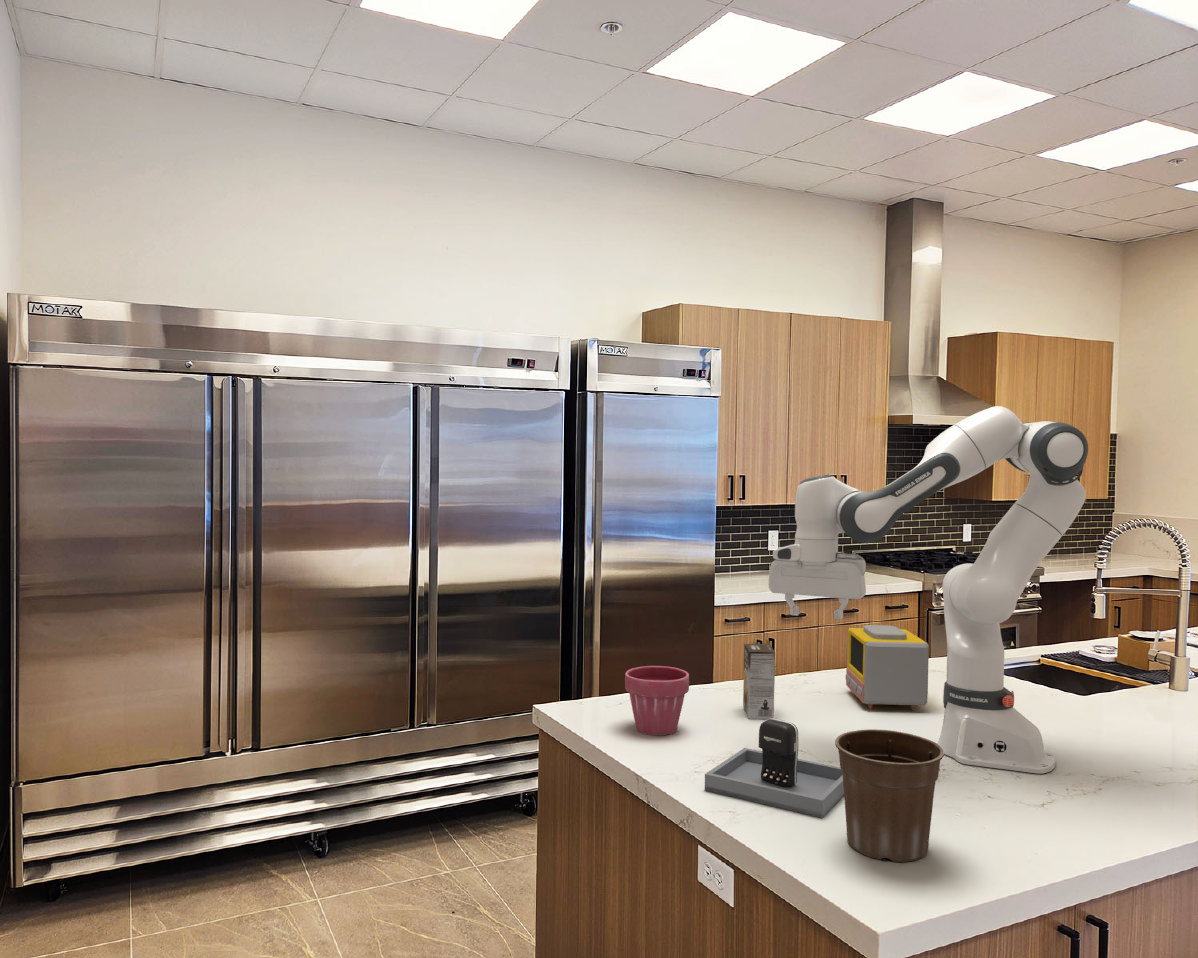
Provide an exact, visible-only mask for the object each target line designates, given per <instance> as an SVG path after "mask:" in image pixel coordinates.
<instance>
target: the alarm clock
mask: <svg viewBox="0 0 1198 958" xmlns="http://www.w3.org/2000/svg"><path fill="white" fill-rule="evenodd" d="M929 646H930V645H929V644H928V642H927V641H924V640H923V639H922V638H920V637H918V636H917V635H916V634H914V633H912V632H911V631H910V630H907V629H906V628H905V629H904V628H898V627H897V626H895V625H885V624H884V625H883V624H882V625H881V624H865V625H864V626H863V627H849V628H848V629H847V645H846V647H847V648H846V669H845V670H846V672H845V673H846V674H845V686H847V688H848V689H849V690H850V691H851V692H852V693H853V694H854V695H855V696H856V697H857V698H858V699H859V701H860V702H861V703H862V704H866V705H867V707H868V709H870V710H871V709H873V706H874V705H892V706H893V705H894V706H896V705H897V706H910V709H911V710H912V711H916V707H917V706H926V705H927V704H928V699H929V698H928V696H929V693H928V692H929V690H928V689H929V656H930V655H929V654H930V653H929V650H930V647H929Z"/></svg>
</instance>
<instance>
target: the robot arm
mask: <svg viewBox="0 0 1198 958" xmlns="http://www.w3.org/2000/svg"><path fill="white" fill-rule="evenodd" d="M1088 454H1089V443H1088V440H1087V437H1086V435H1084V434H1083V431H1081V430H1080V429H1079V428H1077V427H1075V426H1073V425H1071V424H1069V423H1067V422H1059V421H1057V422H1056V421H1048V420H1044V421H1035V422H1022V421H1021V420H1020V419H1019V417H1018V416H1017V415H1016V413H1014V411H1012V410H1010V409H1009V408H1008V407H1005V406H1001V405H996V406H991V407H989V408H985V409H983V410H980V411H978V412H976V413H974V414H971V415H969V416H968V417H965V418H963V419H962V420H960V421H958V422H956V423H955V424H953V425H952V426H950V427H948V428H946V429H945V430H944V431H942V432H941V433H939V434H938V436H936V437H935V438H933V440H931V441H930V442H929V443H928V444H927V445H926V447H925V450H924V455H923V457H922V459H921V460H920V462H919V463H918V464H917V465H916V466H915V467H913V468H912V469H911V470H909V471H907V472H906V473H905V474H903V475H901V476H900V477H898V478H897V479H895V480H893V481H892V482H890V483H889V484H887V485H886V486H884V487H882V488H880V489H876V490H871V491H864V490H860V489H858V488H855V487H853V486H850V485H849V484H846V483H845V482H843V481H841V480H839V479H838V478H836V477H835V476H834V475H830V474H823V475H817V476H812V477H808V478H805V479H803V480H802V481H800V483H798V486H797V488H796V492H795V493H796V494H795V503H794V504H795V505H794V518H795V522H796V532H795V535H794V544H793V543H789V544H787V545H786V546H782V547H778V548H775V549H774V550H773V551H772V558H773V559H774V560H773V561H772V562H771V564H770V567H769V573H768V588H769V589H768V590H770V592H771V593H773V594H783V595H784V600H785V602H786V604H787V606H788V607H789V611H790V612H789V614H790V616H794V617H795V616H796V617H797V616H799V615H800V606H797V605H796V604H795V602H794V600H793V599H794V598H795V595H796V596H797V595H799V596H811V597H823V598H835V599H838V603H839V604H841V605H839V608H837V609H835V610H834V611H833V619H834V620H843V619H844V610H845V609H846V607H847V606H848V604H849V600H860V599H862V598H863V597H864V596H865V595H866V593H867V591H866V590H867V589H866V588H867V586H866V579H865V578H866V577H865V574H866V572H867V562H866V560H865V559H864V558H863V557H862V556H861V555H859V554H858V553H857V554H856V553H843V552H839V534H845V535H846V536H848V537H849V538H850V539H851V540H853V541H855V542H858V543H861V544H868V543H875V542H878V541H879V540H881V539H883V538H884V537H885V536H886V535H888V533H889V532H890V531H891V529H892V527H893V526H894V525H895V523H896V522H897V521H898V519H900V517H901V516H902V515H903V514H905V513H906V512H908V511H910V510H911V509H912V508H914V507H916V506H917V505H919V504H920V503H921V502H923V501H925V500H926V499H928V498H930V497H931V496H933V495H934V494H936V493H938V492H939V491H941V490H943V489H946V488H949V487H951V486H953V485H956V484H958V483H961V482H963V481H966V480H969V479H970V478H972V477H974V476H976V475H978V474H980V473H981V472H983V471H984V470H986V469H988V468H989V467H991V466H993V465H994V464H995V463H997V462H1000V461H1002V460H1005V461H1006V462H1008V463H1009V464H1010V465H1011V466H1012V467H1013V468H1015V469H1016V470H1019V471H1021V472H1024V473H1029V480H1028V482H1027V485H1026V487H1025V490H1024V492H1023V493H1022V494H1021V495H1020V496H1019V498H1018V499H1017V500H1016V501H1015V502H1014V503H1013V505H1011V507H1010V508H1009V510H1007V512H1006V513H1005V514H1004V516H1002V517H1001V519H1000V520H999V522H998V523H997V524H996V525H995V526H994V527H993V529H992V530H991V531H990V532H989V535H988V537H987V540H986V542H985V544H984V545H983V548H982V549H981V551H980V553H979V555H978V556H977V558H976V560H975V561H974V563H970V562H969V563H962V564H959V565H955V566H954V567H953V568H951V569H949V570H948V571H947V573H946V574H945V575H944V578H943V580H942V586H941V587H942V593H943V613H944V616H943V617H944V625H945V626H944V627H945V634H946V645H947V647H946V651H947V652H946V653H947V654H946V681H945V682H944V683H943V691H942V692H943V693H942V695H943V696H942V701H943V708H944V713H943V719H942V726H941V731H940V735H939V738H938V741H937V742H936V743H937V744H938V745H939V746H940V747H941V748H942V749H943V751H944V755H945V756H948V757H951V758H952V759H954V760H956V761H957V762H958V763H959V764H963V765H968V766H969V765H970V766H977V767H985V768H993V769H999V770H1008V771H1016V772H1023V773H1028V774H1029V773H1031V774H1038V775H1039V774H1041V775H1043V774H1045V773H1049V772H1052V771H1053V770H1054V769H1055V767H1056V758H1055V757H1056V756H1054V753H1052V752H1050V751H1048V750H1046V749H1045V745H1044V742H1043V736H1042V734H1041V730H1040V729H1039V728H1038V726H1037V725H1035V724H1034V723H1033V722H1032V721H1030V720H1029V719H1028V718H1027V717H1026V716H1025V715H1023V714H1022V713H1021V712H1019V711H1018V710H1017V709H1016V708H1015V707H1014V706H1015V692H1014V690H1011V691H1010V690H1009V689H1007V688H1006V687H1005V686H1004V682H1005V646H1004V644H1003V643H1004V642H1003V639H1002V633H1001V627H1000V626H1001V624H1002V623H1003V622H1006V621H1007V620H1009V618H1010V617H1011V616H1012V615H1013V613H1014V612H1015V610H1016V607H1017V602H1018V600H1019V598H1020V597H1021V596H1022V593H1023V592H1024V591H1025V589H1026V586H1028V583H1029V581H1030V580H1031V577H1032V575H1033V574H1034V573H1035V571H1036V569H1037V568H1038V567H1039V565H1040V564H1041V563H1042V562H1043V560H1044V559H1045V558H1046V556H1047V555H1048V554H1049V552H1050V551H1051V550H1052V549H1053V548H1054V547H1055V545H1056V544H1057V543H1058V542H1059V540H1061V538H1062V537H1063V536H1064V535H1065V533H1066V532H1067V531H1068V529H1070V527H1071V526H1072V524H1073V523H1074V521H1075V519H1076V518H1077V517H1078V515H1079V513H1080V511H1081V509H1082V507H1083V505H1084V503H1085V501H1086V497H1087V493H1086V489H1085V487H1084V486H1083V484H1082V483H1081V482H1080V481H1079V479H1080V478H1081V477H1082V475H1083V473H1084V472H1083V471H1084V465H1085V463H1086V460H1087V459H1088ZM1076 476H1077V477H1076Z"/></svg>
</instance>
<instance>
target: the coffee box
mask: <svg viewBox="0 0 1198 958" xmlns="http://www.w3.org/2000/svg"><path fill="white" fill-rule="evenodd" d="M743 647H744V649H743V686H742V687H743V689H742V690H743V693H742V696H743V697H742V701H743V702H742V705H743V707H742V708H743V710H744V712H745V715H746V717H747V719H748V720H768V719H771V718H772V719H775V718H774V717H775V716H774V715H775V714H774V713H775V675H776V674H775V673H776V651H775V650H774V649H773V646H772V645H771V644H770V643H744V644H743Z"/></svg>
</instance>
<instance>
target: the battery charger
mask: <svg viewBox="0 0 1198 958" xmlns="http://www.w3.org/2000/svg"><path fill="white" fill-rule="evenodd" d="M758 748H759V749H761V750H762V756H763V764H762V771H761V779H762V780H764V781H766V782H770V783H773V784H776V785H780V786H784V787H790V786H793V785H796V783H797V761H798V759H799V729H798V727H797V725H795V724H794V723H793V722H790V721H786V720H782V719H777V718H774V719H772V718H771V719H766V720H764V721H762V723H760V726H759V729H758Z"/></svg>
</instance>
